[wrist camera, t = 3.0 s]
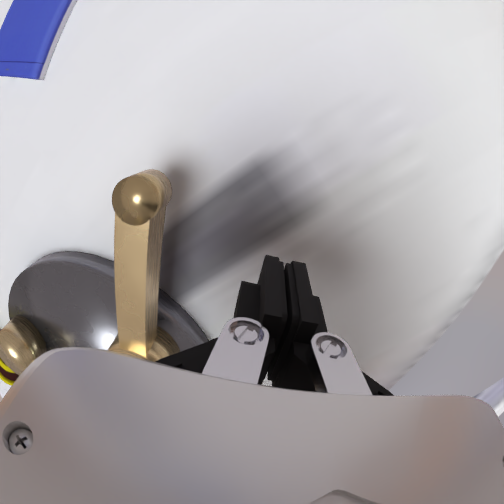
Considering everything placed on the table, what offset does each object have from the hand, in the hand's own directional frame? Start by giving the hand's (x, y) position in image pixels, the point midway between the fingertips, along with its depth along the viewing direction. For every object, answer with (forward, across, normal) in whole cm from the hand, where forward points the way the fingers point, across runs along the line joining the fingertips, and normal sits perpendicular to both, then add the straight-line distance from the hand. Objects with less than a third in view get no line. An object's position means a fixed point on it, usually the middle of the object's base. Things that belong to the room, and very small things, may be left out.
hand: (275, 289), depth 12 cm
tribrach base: (+5, +11, +14) cm, 19 cm away
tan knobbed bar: (+2, +6, +3) cm, 8 cm away
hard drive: (+6, +20, -15) cm, 26 cm away
